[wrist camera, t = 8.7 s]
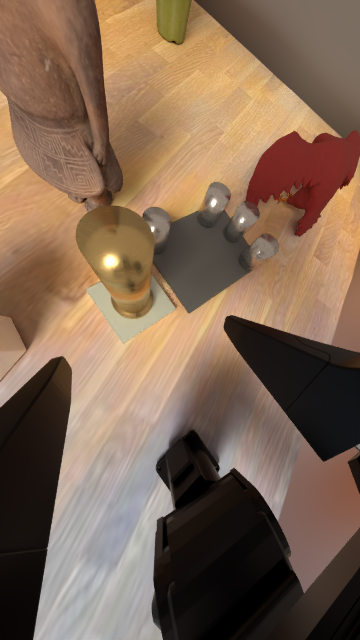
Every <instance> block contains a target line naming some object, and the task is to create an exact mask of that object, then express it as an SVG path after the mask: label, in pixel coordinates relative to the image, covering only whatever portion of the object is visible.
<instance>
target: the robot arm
mask: <svg viewBox="0 0 360 640" xmlns="http://www.w3.org/2000/svg"><path fill="white" fill-rule="evenodd" d="M224 330H225V332H226V334H227V335H228V337H229V338H230V340H231V342H232V343H233V345H234V346H235V348H236V349H237V351H238V352H239V353H240V355H241V356H242V357H243V359H244V360H245V361H246V362H247V364H248V365H249V366H250V368H251V369H252V370H253V372H254V373H255V374H256V375H257V377H258V378H259V379H260V381H261V382H262V383H263V385H264V386H265V387H266V388H267V390H268V391H269V392H270V394H271V395H272V396H273V398H274V399H275V400H276V401H277V403H278V404H279V405H280V407H281V408H282V409H283V411H284V412H285V413H286V415H287V416H288V417H289V418H290V420H291V421H292V422H293V424H294V425H295V426H296V428H297V429H298V430H299V431H300V433H301V434H302V435H303V437H304V438H305V439H306V441H307V442H308V443H309V444H310V446H311V447H312V448H313V450H314V451H315V452H316V453H317V455H318V456H319V457H320V458H321V460H322V461H327V460H329V459H330V458H333V457H334V456H337V455H338V454H340V453H342V452H345V451H346V450H348V449H351V448H353V447H355V448H356V449H357V450H358V451H359V452H358V453H357V454H356V455H355V456H354V457H352V458H351V459H350V460H349V461H348V464H349V467H350V469H351V472H352V475H353V477H354V480H355V483H356V485H357V488H358V491H359V493H360V353H359V352H354V351H350V350H346V349H343V348H339V347H335V346H331V345H328V344H324V343H320V342H317V341H313V340H310V339H306V338H303V337H300V336H297V335H293V334H290V333H287V332H284V331H281V330H278V329H274V328H271V327H268V326H265V325H262V324H259V323H255V322H252V321H249V320H246V319H243V318H239V317H236V316H233V315H231V316H227V317H226V318H225V323H224ZM71 385H72V369H71V367H70V365H69V364H68V362H67V361H66V359H65V358H64V357H62V356H61V357H57V358H53V359H51V360H50V361H49V362H48V363H47V364H46V365H45V366H44V367H43V368H41V369H40V370H39V371H38V372H37V373H36V374H35V375H34V376H33V377H32V378H31V379H30V380H29V381H28V382H27V383H26V384H25V385H24V386H23V387H21V388H20V389H19V390H18V391H17V392H16V393H15V394H14V395H13V396H12V397H11V398H10V399H9V400H8V401H7V402H6V403H5V404H4V405H3V406H2V407H0V640H33V637H34V631H35V625H36V618H37V612H38V606H39V600H40V594H41V587H42V581H43V575H44V569H45V562H46V556H47V550H48V549H46V548H47V547H48V543H49V536H50V530H51V524H52V518H53V512H54V505H55V499H56V493H57V487H58V481H59V474H60V468H61V462H62V456H63V449H64V443H65V437H66V431H67V425H68V418H69V412H70V405H71ZM193 433H194V435H193V436H192V434H193ZM159 466H161V468H158V467H159ZM216 466H217V467H216ZM215 467H216V468H215ZM219 469H220V467H219V465H218V463H217V462H216V460H215V459H214V458H213V456H212V455H211V453H210V452H209V450H208V449H207V447H206V446H205V444H204V443H203V442H202V440H201V439H200V437H199V436H198V434H197V433H196V431H195V430H191V431H190V432H189V433H188V434H187V435H186V436H185V437H184V438H183V439H180V440H179V441H178V442H177V443H176V444H175V445H174V446H173V447H172V448H171V449H170V450H169V451H168V452H167V453H166V455H165V456H164V457H163V458H162V459H161V460H160V461H159V462H158V463H157V464H156V471H157V473H158V474H159V476H160V477H161V479H162V480H163V482H164V483H165V484H166V486H167V487H168V489H169V490H170V492H171V496H172V502H173V508H174V511H172V512H171V513H169V514H168V515H166V516H165V517H164V518H163V516H162V517H161V518H159V519H158V520H157V531H156V537H155V556H154V576H153V580H154V589H155V591H154V596H153V600H152V617H153V622H154V623H155V625H156V626H157V627H158V628H159V629H160V630H161V633H162V637H163V640H360V528H359V529H358V530H357V532H356V533H355V534H354V535H353V536H352V537H351V539H350V540H349V541H348V542H347V543H346V544H345V546H344V547H343V548H342V549H341V550H340V552H339V553H338V554H337V555H336V556H335V558H334V559H333V560H332V561H331V562H330V563H329V565H328V566H327V567H326V568H325V569H324V571H323V572H322V573H321V574H320V575H319V576H318V577H317V579H316V580H315V581H314V582H313V583H312V585H311V586H310V587H309V588H308V589H307V591H306V592H305V593H304V592H303V590H302V587H301V584H300V582H299V579H298V578H297V576H296V574H295V572H294V571H293V569H292V566H291V564H290V562H289V559H288V558H289V557H290V556H291V551H290V547H289V545H288V542H287V540H286V537H285V535H284V533H283V532H282V529H281V527H280V525H279V523H278V521H277V519H276V518H275V516H274V514H273V512H272V511H271V509H270V507H269V506H268V504H267V503H266V501H265V500H264V498H263V497H262V495H261V494H260V493H259V491H258V490H257V489H256V488H255V487H254V486H253V485H252V484H251V483H250V482H249V481H248V480H247V479H246V478H245V477H244V476H242V475H241V474H240V473H239V472H238V471H237V470H236V469H235V468H233V469H231V470H230V472H229V473H228V474H226V475H225V476H224V477H222V478H220V476H219V474H218V471H219Z"/></svg>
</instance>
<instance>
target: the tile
mask: <svg viewBox="0 0 360 640" xmlns="http://www.w3.org/2000/svg"><path fill="white" fill-rule="evenodd" d="M150 289H151V291H152V293H153V305H152V308H151V310H150V311H149V313H148V314H147V315H145V316H144V317H142V318H139V319H127V318H124V317H122V316H121V315H120V314H118V313H117V311H116V310H115V309H114V308H113V306H112V303H111V295H110V293H109V292H108V291H107V289H106V288H105V286H104V285H103V283H102V282H99V283H97V284H95V285H93V286H91V287H89V288H87V289H86V291H87V292H88V294H89V295H90V297H91V298H92V299H93V301H94V302H95V304H96V305H97V307H98V308H99V310H100V311H101V312H102V314H103V315H104V317H105V318H106V320H107V321H108V323H109V324H110V326H111V327H112V328H113V330H114V331H115V333H116V334H117V336H118V337H119V339H120V340H121V341H122V343H123V344H124V343H126V342H127V341H129V340H130V339H132V338H133V337H135V336H136V335H138V334H139V333H141V332H142V331H144V330H146V329H147V328H149V327H150V326H152V325H153V324H155V323H156V322H158V321H159V320H161V319H162V318H164V317H165V316H167V315H168V314H170V313H171V312H173V311H174V310H176V308H175V307H174V305H173V304H172V302H171V301H170V300H169V298H168V297H167V295H166V294H165V292H164V291H163V289H162V288H161V287H160V285H159V284H158V282H157V281H156V279H155V278H154V276H153V275H152V274H151V285H150Z"/></svg>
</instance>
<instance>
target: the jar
mask: <svg viewBox="0 0 360 640" xmlns="http://www.w3.org/2000/svg"><path fill="white" fill-rule="evenodd" d="M25 351H26V347H25V345H24V343H23V341H22V339H21V337H20V335H19V333H18V331H17V329H16V327H15V325H14V323H13V321H12V319H11V318H10V317H6V316H1V315H0V380H1V379H2V378H3V377H4V376H5V374H6V373H7V372H8V371H9V370H10V369H11V368H12V366H13V365H14V364H15V363H16V362H17V361H18V360H19V358H20V357H21V356H22V355H23V354H24V353H25Z"/></svg>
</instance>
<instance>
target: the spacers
mask: <svg viewBox="0 0 360 640" xmlns="http://www.w3.org/2000/svg"><path fill="white" fill-rule="evenodd" d="M230 197H231V194H230V191H229V189H228V188H227V187H226V186H225V185H224V184H222V183H220V182H213V183H211V184H210V186H209V188H208V191H207V193H206V196H205V198H204V200H203V203H202V205H201V208H200V210H199V213H198V215H197V220H198V222H199V224H200V225H201V226H203V227H205V228H212V227H214V226H215V224H216V222H217V220H218V219H219V217H220V215H221V214H222V212H223V210H224V208H225V207H226V205H227V203H228V202H229V200H230ZM259 216H260V213H259V210H258V208H257V206H256V205H255V204H253V203H252V202H249V201H244V202H242V203H241V204H240V205H239V207H238V208H237V210H236V211H235V213H234V214H233V216H232V217H231V219H230V220H229V222H228V223H227V225H226V226H225V228H224V229H223V236H224V238H225V239H226V240H227V241H228V242H231V243H236V242H238V241H239V240H240V239H241V238H242V237H243V235H244V234H245V233H246V232H247V231H248V230H249V229H250V228H251V227H252V226H253V224H254V223H255V222H256V221H257V220H258V219H259ZM143 219H144V220H145V221H146V222H147V223H148V225H149V226H150V228H151V230H152V232H153V236H154V253H153V255H159V254H161V253H163V252H164V250H165V248H166V243H167V239H168V234H169V229H170V224H171V219H170V216H169V215H168V213H167V212H166V211H165V210H163V209H161V208H158V207H150V208H148V209H146V210H145V211H144V213H143ZM277 251H278V243H277V241H276V239H275V238H274V237H273V236H271V235H270V234H262V235H261V236H260V237H259V238H258V239H257V240H256V241H254V242H253V243H252V244H251V245H250V246H249V247H248V248H247V249H246V250H245V251H244V252H243V253H242V254H241V255H240V256H239V264H240V266H241V267H242V268H243V269H244V270H246V271H251V270H253V269H254V268H256V267H257V266H259V265H260V264H262V263H263V262H264V261H266V260H267V259H269V258H270V257H272V256H273V255H274V254H276V253H277Z"/></svg>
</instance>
